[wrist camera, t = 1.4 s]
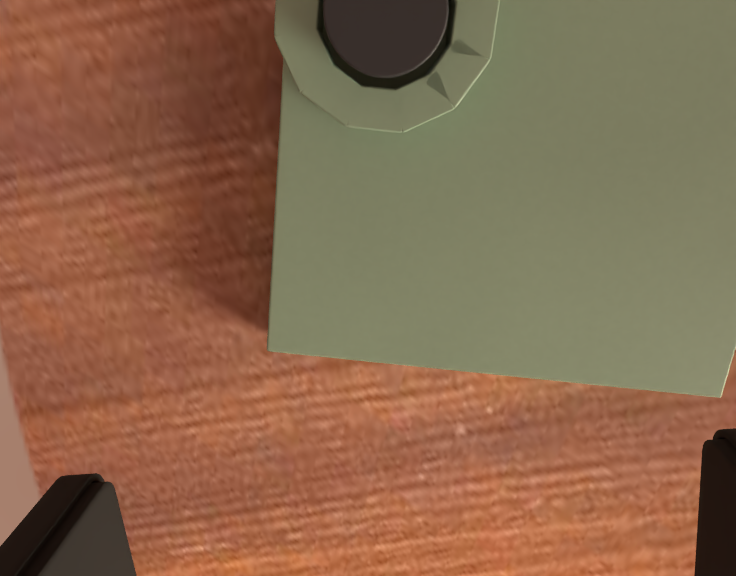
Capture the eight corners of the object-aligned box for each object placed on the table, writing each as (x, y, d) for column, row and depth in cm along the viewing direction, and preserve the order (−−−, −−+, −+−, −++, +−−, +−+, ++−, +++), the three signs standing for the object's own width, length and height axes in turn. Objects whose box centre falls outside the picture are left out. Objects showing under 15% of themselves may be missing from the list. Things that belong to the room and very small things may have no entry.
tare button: (324, 72, 18) (318, 70, 17) (333, -51, 18) (328, -67, 16) (435, 83, 18) (440, 83, 17) (450, -40, 18) (457, -53, 16)
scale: (271, 337, 24) (255, 371, 21) (296, -91, 20) (281, -122, 17) (702, 381, 24) (746, 421, 21) (819, -36, 20) (893, -57, 17)
